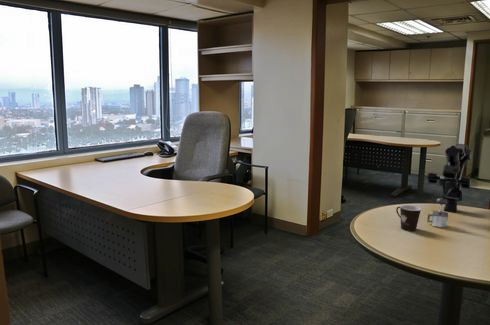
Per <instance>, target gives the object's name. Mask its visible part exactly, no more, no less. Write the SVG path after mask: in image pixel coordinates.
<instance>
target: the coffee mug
mask: <svg viewBox="0 0 490 325" xmlns="http://www.w3.org/2000/svg"><path fill="white" fill-rule="evenodd" d="M399 209H400V214H399V212H398V211H399ZM421 210H422V208H421V207H419V206H415V205H410V204H403V205H400V206H397V207H396V210H395V211H396V213H397V215H398V217H399V218H400V230H403V231H406V232H416V231H417V227H418V223H419V219H420V215H421Z"/></svg>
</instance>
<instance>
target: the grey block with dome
mask: <svg viewBox="0 0 490 325" xmlns="http://www.w3.org/2000/svg"><path fill="white" fill-rule="evenodd" d="M439 211H440V210H432V213H431V214H430V213H427V220H426V221H427V223H430V225H431V226H432V227H434V228H438V229H447V228H448V221H449V219H448V218H449V213H448V211H442V213H441V214H439ZM430 219H431V220H430Z"/></svg>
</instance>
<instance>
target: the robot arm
mask: <svg viewBox="0 0 490 325" xmlns="http://www.w3.org/2000/svg"><path fill="white" fill-rule="evenodd" d="M471 158H472V150H470V149H469V147H468V145H467V144H463V143H457V144H456V145H451V146H450V147H447V149H445V161H446V163H445V164H444V165H443V168H442V174H441V175H439V176H438V173H437V172H428V173H427V175H426V176H427V182H428V183H429V184H437V183H439V186H441V188H442V198H443V199H447V204H444V206H443V212H451V213H458V202H461V201H463V197H464V196H463V194H464V193H463V191H462V189H461V188H463V189H470V188H471V185H472V183H471V182H472V178H470V177H468V176H462V175H463V171H464V168H465V167H466V166H467V165H469V162H470V161H471Z"/></svg>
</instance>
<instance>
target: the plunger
mask: <svg viewBox="0 0 490 325" xmlns="http://www.w3.org/2000/svg"><path fill="white" fill-rule="evenodd" d="M436 203H437V204H439V210H438V211H439V214H441V213H442V212H443V205H445V204H447V199H443V197H438V198H436Z"/></svg>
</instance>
